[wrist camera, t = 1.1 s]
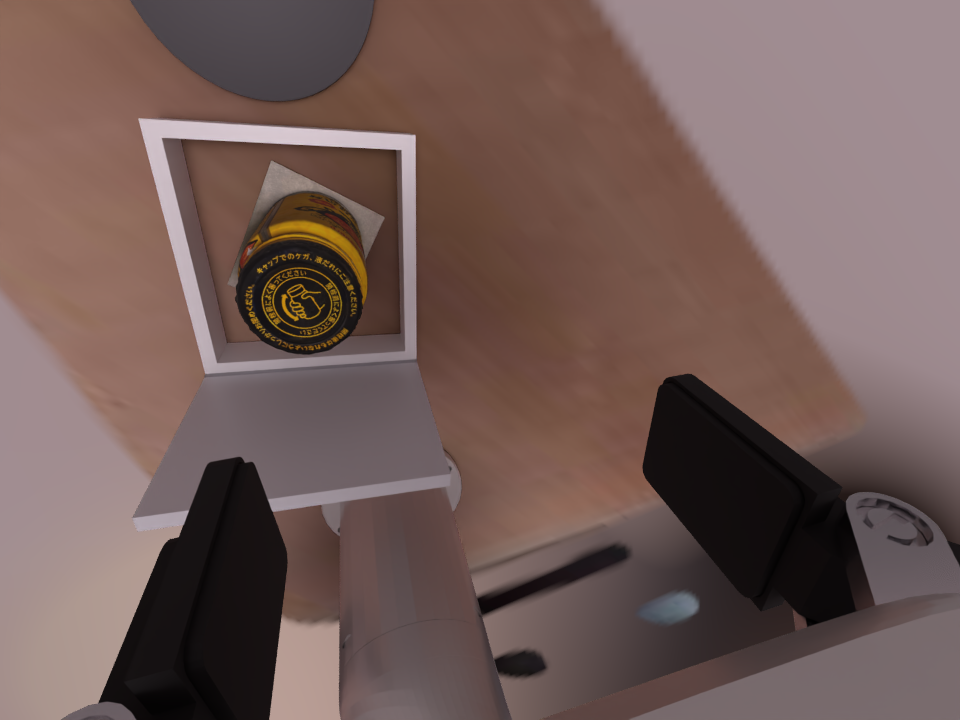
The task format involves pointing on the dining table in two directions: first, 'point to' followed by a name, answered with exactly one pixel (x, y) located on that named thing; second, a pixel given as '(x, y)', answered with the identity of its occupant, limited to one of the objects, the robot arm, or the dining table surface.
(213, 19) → the mat
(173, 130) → the case
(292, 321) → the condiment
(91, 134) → the dining table surface
